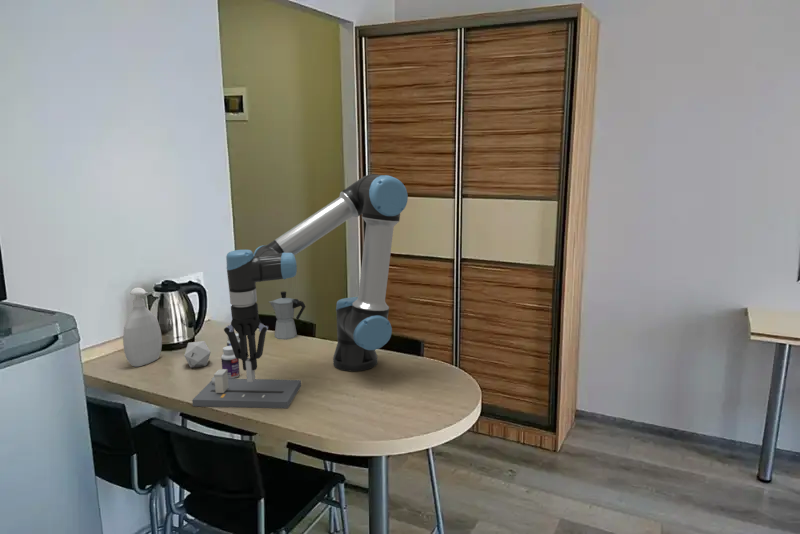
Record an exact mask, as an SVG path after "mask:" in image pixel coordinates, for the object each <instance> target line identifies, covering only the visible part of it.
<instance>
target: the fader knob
mask: <svg viewBox="0 0 800 534" xmlns="http://www.w3.org/2000/svg"><path fill="white" fill-rule="evenodd" d="M227 372H228V369H222V368H219V369H218V370H217V371H215V373H213V377H214V378H215V390H216V393H224V392H225V391H226V390H227V389H228V388H229V387H228V375H227Z"/></svg>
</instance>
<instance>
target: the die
mask: <svg viewBox="0 0 800 534" xmlns="http://www.w3.org/2000/svg"><path fill="white" fill-rule="evenodd" d="M210 355H211V350H210V348H209V347H208V345H207V343H206V341H205V340H200V341H193V342H192V341H191V342H188V343H187V345H186V348H185V352H184V355H183V356H184V357H185V360H186V362H187V364H188V365H189V367H190V369H191V368H199V367H206V366H207V365H208V362H209V359H210Z"/></svg>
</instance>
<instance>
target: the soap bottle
mask: <svg viewBox="0 0 800 534" xmlns="http://www.w3.org/2000/svg"><path fill="white" fill-rule="evenodd" d="M129 294H130V295H132V296H136V298H134V299H133V300H132V304H133V305H132V306H133V308H132V309H131V312H130V313H129V314H128V316H127V318H126V322H125V324H124V327H123V336H122V337H123V339H122V341H123V342H122V344H123V352H124V355H125V359H126V360H127V362H128V363H129V365H130V366H132V367H136V368H137V367H142V366H146V365H149V364H151V363H153V362H156V361H157V360H158V359H159V358H160V355H161V351H162V346H163V338H162V331H161V327H160V324H159V320H158V318H157V317H156V316H155V314H154V313H153V312H152V311H150V310H149V309H148V308H147V307H146V301H145V299H144V298H143V297H141V295H142V296H145V295H148V294H149V291H146V290H145V289H144V288H142V287H134V288H132V289H131V291H130V292H129Z"/></svg>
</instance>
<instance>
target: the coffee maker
mask: <svg viewBox="0 0 800 534" xmlns="http://www.w3.org/2000/svg"><path fill="white" fill-rule="evenodd" d="M280 296H281V297H279V298H277V299H274V300H271V301H268V303H270V306H271V307H272V309H273V310H274V313H275V318H276V322H275V328H274V329H275V330H274V338H275V339H277V340H291V339H295V338H296V337H297V336H298V334H297V332H298V331H297V329H296V324H295V320H294V315H295V309H296V308H298V307H299V308H300V307H301V308H300V310H299V312H298V314H297V315H296V317H295V319H296V320H297V321H298V320H299V319H300V317H301V315H302V314H303V313H304V310H305V309H306V305H305V302H304V301H302V300H299V299H298V298H290V297H287V291H280Z"/></svg>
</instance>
